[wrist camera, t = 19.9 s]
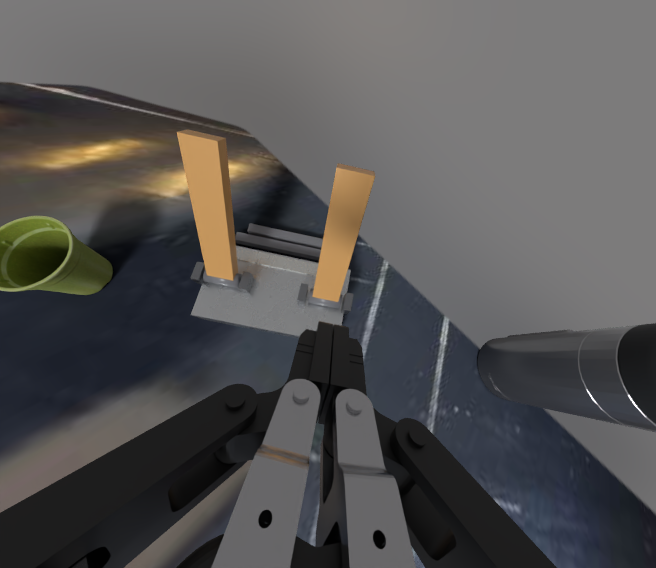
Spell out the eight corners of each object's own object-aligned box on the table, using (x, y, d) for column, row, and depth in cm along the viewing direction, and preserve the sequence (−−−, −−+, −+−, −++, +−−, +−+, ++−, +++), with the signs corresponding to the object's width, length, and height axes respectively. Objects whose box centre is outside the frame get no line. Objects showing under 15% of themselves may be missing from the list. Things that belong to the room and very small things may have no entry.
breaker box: (223, 252, 38) (208, 233, 32) (349, 279, 39) (357, 265, 33) (199, 318, 34) (177, 310, 29) (338, 346, 35) (345, 344, 29)
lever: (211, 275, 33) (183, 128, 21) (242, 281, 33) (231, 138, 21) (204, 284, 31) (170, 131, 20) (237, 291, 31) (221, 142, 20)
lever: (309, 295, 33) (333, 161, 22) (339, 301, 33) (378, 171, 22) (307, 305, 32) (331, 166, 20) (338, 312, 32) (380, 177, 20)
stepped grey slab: (242, 225, 40) (240, 221, 38) (345, 247, 40) (347, 244, 39) (236, 243, 39) (234, 239, 37) (342, 265, 39) (343, 262, 38)
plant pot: (127, 298, 34) (71, 279, 26) (53, 313, 33) (-31, 299, 25) (125, 242, 37) (73, 209, 29) (56, 254, 35) (-20, 223, 27)
